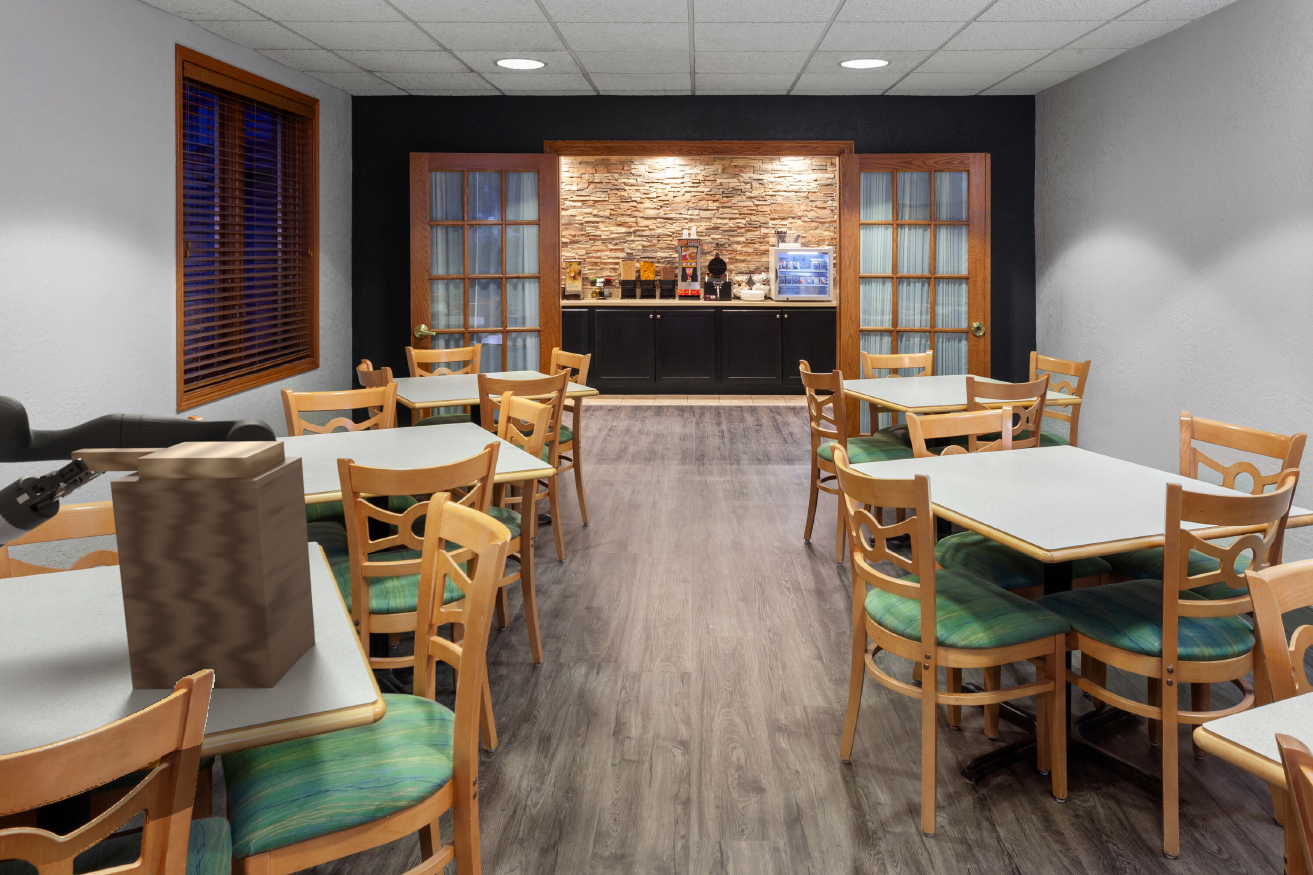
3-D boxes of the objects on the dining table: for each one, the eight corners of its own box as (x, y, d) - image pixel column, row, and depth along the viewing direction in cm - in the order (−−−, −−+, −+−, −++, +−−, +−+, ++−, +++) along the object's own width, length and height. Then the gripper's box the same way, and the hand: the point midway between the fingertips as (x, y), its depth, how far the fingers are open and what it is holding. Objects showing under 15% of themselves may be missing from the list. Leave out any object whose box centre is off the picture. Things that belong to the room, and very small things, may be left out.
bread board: (285, 459, 149) (283, 441, 149) (247, 477, 136) (246, 457, 135) (105, 461, 149) (103, 442, 149) (50, 479, 135) (47, 459, 135)
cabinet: (315, 641, 157) (301, 457, 151) (272, 687, 139) (255, 480, 134) (191, 642, 157) (173, 458, 151) (132, 689, 139) (110, 481, 133)
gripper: (-33, 501, 136) (56, 445, 135) (31, 480, 150) (112, 430, 149) (-1, 543, 137) (87, 489, 136) (59, 519, 151) (140, 469, 150)
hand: (100, 458), depth 142 cm, fingers open, 8 cm apart
